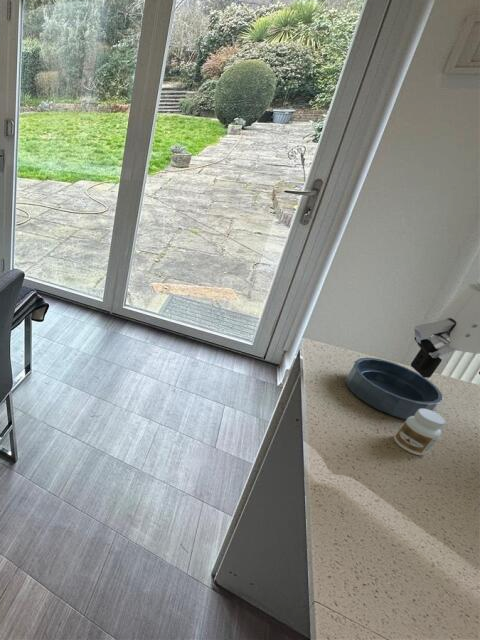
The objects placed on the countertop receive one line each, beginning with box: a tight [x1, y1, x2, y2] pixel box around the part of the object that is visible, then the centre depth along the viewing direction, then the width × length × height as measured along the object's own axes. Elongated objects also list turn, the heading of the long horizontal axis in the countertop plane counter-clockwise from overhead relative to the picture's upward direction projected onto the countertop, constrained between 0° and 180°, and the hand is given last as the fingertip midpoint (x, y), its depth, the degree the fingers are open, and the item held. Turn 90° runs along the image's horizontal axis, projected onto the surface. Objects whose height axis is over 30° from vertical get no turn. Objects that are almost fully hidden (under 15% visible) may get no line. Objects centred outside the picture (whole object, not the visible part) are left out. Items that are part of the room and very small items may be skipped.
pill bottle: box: [393, 408, 446, 456], centre depth 74 cm, size 4×4×8 cm
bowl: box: [345, 357, 443, 420], centre depth 85 cm, size 13×13×5 cm
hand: (453, 376), depth 67 cm, fingers open, 9 cm apart
